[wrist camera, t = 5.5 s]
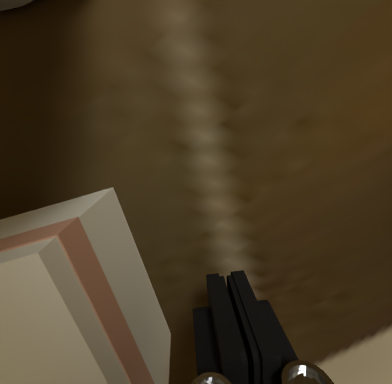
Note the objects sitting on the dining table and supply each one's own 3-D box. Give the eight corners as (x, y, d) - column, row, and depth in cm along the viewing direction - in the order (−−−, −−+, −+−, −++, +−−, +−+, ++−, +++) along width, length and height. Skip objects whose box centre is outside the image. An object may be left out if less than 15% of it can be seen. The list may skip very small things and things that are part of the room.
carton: (-70, 238, 11) (-353, 362, 5) (114, 185, 11) (39, 250, 5) (22, 373, 13) (-99, 560, 8) (172, 331, 13) (166, 488, 7)
